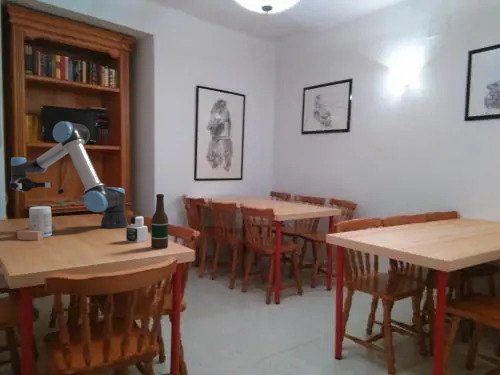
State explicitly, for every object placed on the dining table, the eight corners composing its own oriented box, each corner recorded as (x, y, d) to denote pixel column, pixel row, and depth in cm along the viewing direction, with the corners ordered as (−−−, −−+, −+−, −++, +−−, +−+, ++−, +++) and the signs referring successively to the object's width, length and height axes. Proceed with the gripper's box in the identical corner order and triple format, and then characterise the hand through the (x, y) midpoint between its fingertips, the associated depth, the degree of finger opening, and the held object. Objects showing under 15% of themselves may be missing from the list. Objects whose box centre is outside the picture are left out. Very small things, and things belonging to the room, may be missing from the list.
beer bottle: (164, 249, 160) (164, 195, 159) (147, 248, 162) (147, 194, 161) (171, 245, 168) (171, 193, 167) (155, 244, 170) (155, 193, 168)
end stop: (42, 239, 176) (42, 231, 176) (37, 240, 174) (37, 232, 173) (22, 238, 178) (22, 229, 178) (17, 239, 175) (17, 231, 175)
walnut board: (55, 229, 203) (55, 224, 203) (26, 236, 182) (26, 230, 182) (46, 229, 204) (46, 223, 204) (16, 235, 183) (16, 229, 183)
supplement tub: (49, 233, 190) (49, 205, 189) (53, 237, 183) (53, 207, 182) (28, 236, 184) (27, 206, 183) (31, 239, 176) (30, 208, 176)
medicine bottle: (126, 241, 176) (126, 216, 175) (137, 238, 182) (137, 215, 182) (137, 243, 173) (137, 217, 172) (147, 240, 179) (147, 216, 178)
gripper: (48, 190, 216) (61, 191, 202) (-2, 192, 199) (8, 194, 184) (47, 177, 216) (60, 177, 201) (-3, 178, 198) (7, 179, 183)
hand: (35, 185), depth 192 cm, fingers open, 13 cm apart
